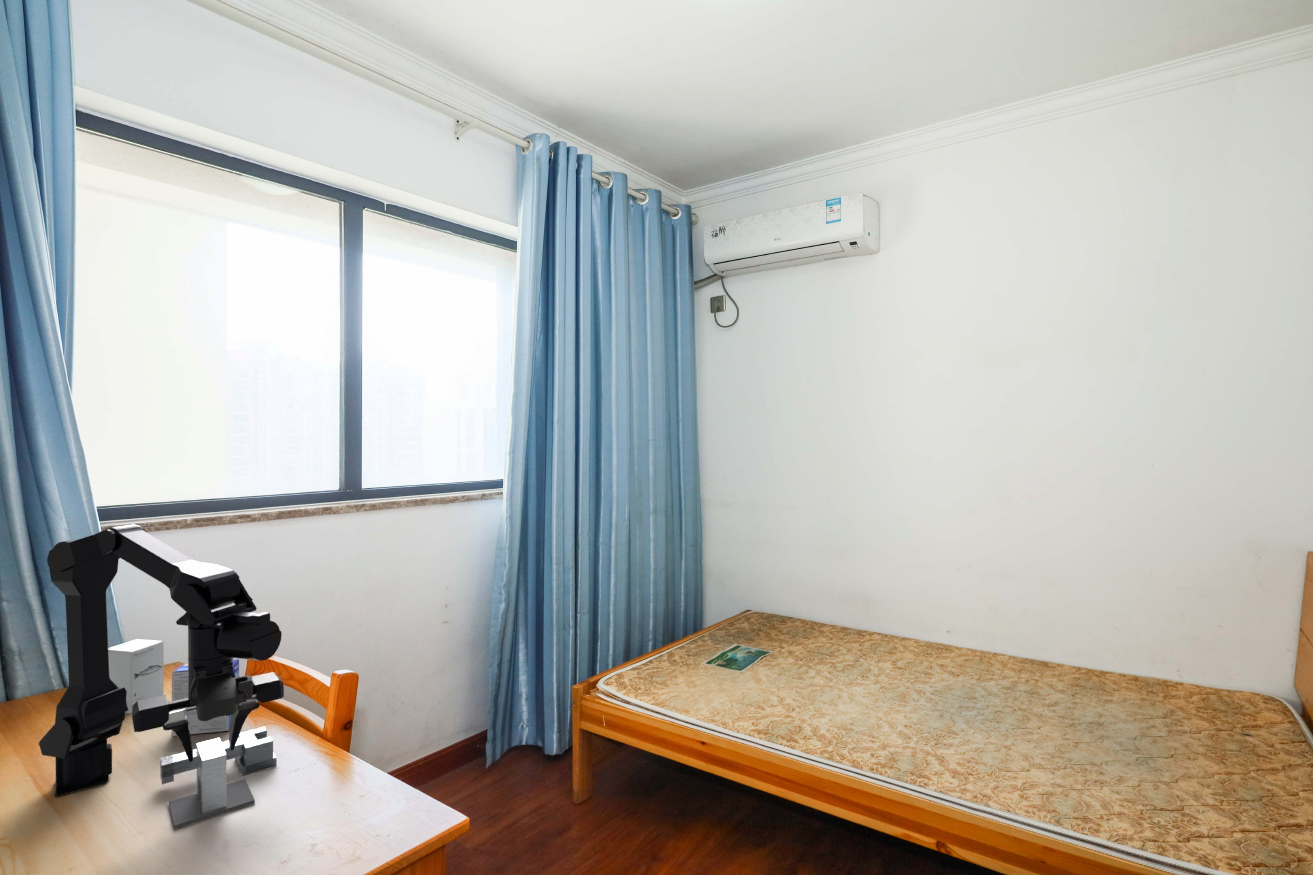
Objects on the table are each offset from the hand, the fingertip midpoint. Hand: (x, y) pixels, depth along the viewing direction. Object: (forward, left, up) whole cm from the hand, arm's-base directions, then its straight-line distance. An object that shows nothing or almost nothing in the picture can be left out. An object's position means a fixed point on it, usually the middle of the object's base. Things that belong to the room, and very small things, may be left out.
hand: (211, 755), depth 101 cm
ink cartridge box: (+3, +31, -8) cm, 32 cm away
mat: (0, 0, -8) cm, 8 cm away
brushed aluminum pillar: (0, 0, -3) cm, 3 cm away
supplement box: (-7, +53, -8) cm, 54 cm away
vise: (+2, +10, -8) cm, 13 cm away
